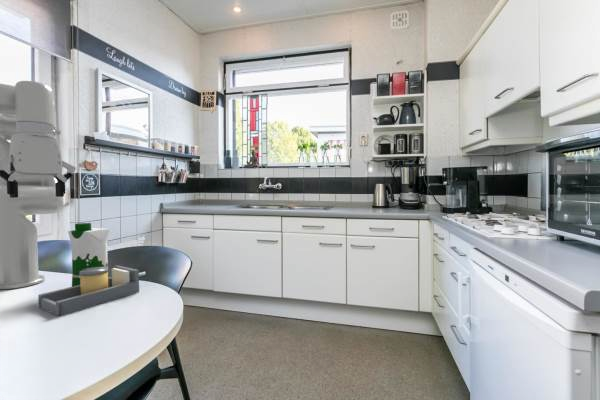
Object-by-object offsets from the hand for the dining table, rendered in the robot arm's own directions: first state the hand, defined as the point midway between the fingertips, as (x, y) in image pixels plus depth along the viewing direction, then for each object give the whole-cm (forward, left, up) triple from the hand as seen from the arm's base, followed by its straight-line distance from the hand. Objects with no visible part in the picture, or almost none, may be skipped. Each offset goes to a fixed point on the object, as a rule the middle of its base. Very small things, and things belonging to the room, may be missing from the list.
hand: (38, 197), depth 80 cm
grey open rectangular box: (+8, +8, -28) cm, 30 cm away
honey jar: (+8, +9, -28) cm, 31 cm away
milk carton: (-4, +14, -28) cm, 32 cm away
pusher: (+8, +20, -28) cm, 35 cm away
